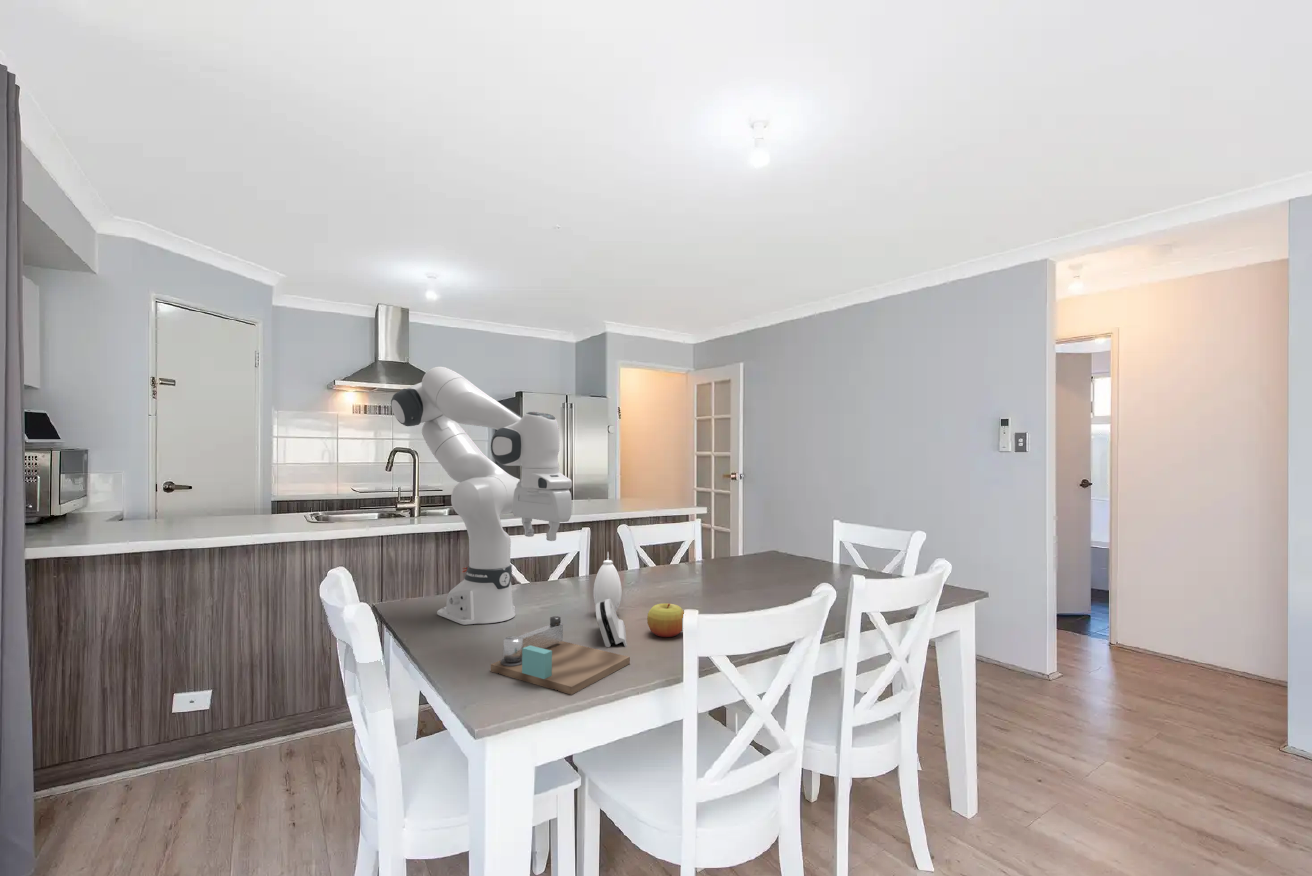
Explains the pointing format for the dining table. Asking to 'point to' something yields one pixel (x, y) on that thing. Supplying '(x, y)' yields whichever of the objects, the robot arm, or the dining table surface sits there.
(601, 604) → the white slotted block
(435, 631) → the dining table surface
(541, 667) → the block
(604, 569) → the white tall oval piece
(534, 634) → the lock bar
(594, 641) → the dining table surface
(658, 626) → the apple
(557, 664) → the wooden cutting board
